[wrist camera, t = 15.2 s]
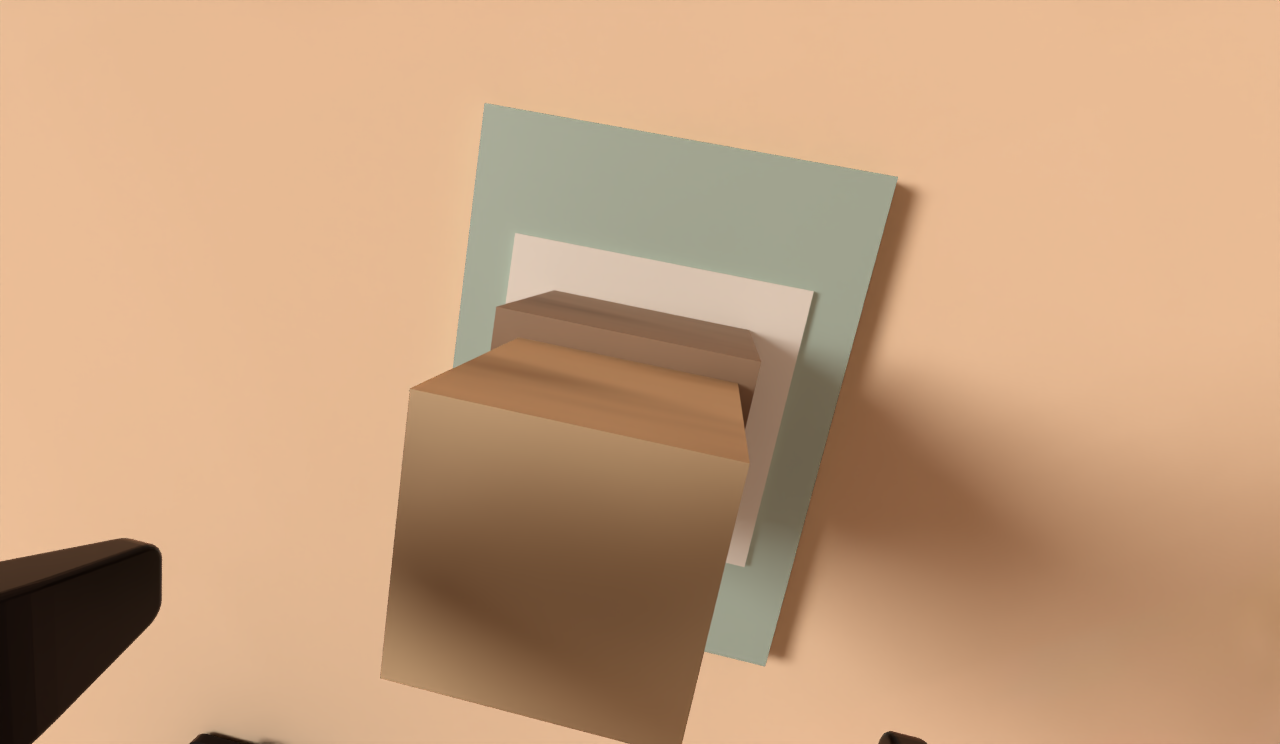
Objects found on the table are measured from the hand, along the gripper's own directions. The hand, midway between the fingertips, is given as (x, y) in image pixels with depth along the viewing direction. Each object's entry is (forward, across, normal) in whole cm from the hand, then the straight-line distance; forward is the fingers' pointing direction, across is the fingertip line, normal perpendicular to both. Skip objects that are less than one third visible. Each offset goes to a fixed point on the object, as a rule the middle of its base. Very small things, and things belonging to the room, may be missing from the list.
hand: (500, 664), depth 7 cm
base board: (+13, 0, 0) cm, 13 cm away
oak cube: (+7, 0, 0) cm, 7 cm away
